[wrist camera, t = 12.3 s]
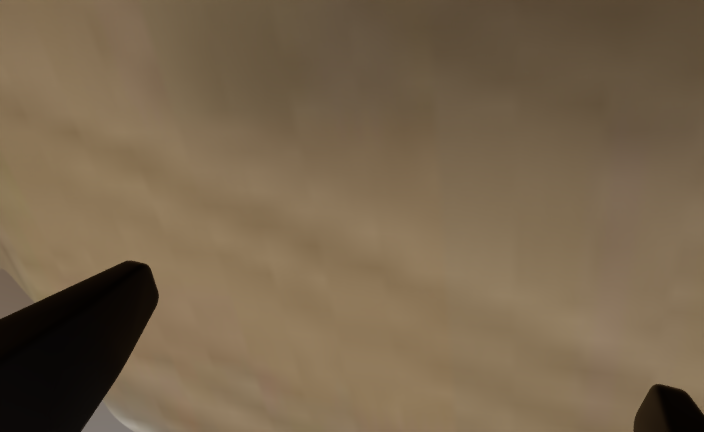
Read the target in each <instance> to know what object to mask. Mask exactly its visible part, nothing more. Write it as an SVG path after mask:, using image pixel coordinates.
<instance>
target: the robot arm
mask: <svg viewBox="0 0 704 432" xmlns="http://www.w3.org/2000/svg"><path fill="white" fill-rule="evenodd" d="M158 298H159V294H158V290H157V287H156V284H155V281H154V278H153V274H152V271H151V269H150V267H149V266H148V265H147V264H144V263H140V262H136V261H125V262H123V263H120V264H118V265H116V266H114V267H112V268H110V269H107V270H105V271H103V272H101V273H99V274H97V275H95V276H92V277H90V278H88V279H86V280H84V281H82V282H79V283H77V284H75V285H73V286H71V287H69V288H67V289H64V290H62V291H60V292H58V293H56V294H54V295H51V296H49V297H47V298H45V299H43V300H41V301H39V302H36V303H34V304H32V305H30V306H28V307H26V308H23V309H21V310H19V311H17V312H15V313H13V314H11V315H8V316H6V317H4V318H2V319H0V432H81V431H82V429H83V428H84V426H85V425H86V423H87V422H88V421H89V419H90V418H91V416H92V415H93V413H94V412H95V410H96V409H97V407H98V406H99V404H100V403H101V401H102V400H103V398H104V397H105V395H106V394H107V392H108V391H109V389H110V388H111V386H112V385H113V383H114V382H115V380H116V379H117V377H118V375H119V374H120V372H121V371H122V369H123V367H124V365H125V364H126V362H127V360H128V358H129V356H130V354H131V353H132V351H133V349H134V347H135V345H136V343H137V341H138V340H139V338H140V336H141V334H142V332H143V330H144V328H145V326H146V325H147V323H148V321H149V319H150V317H151V315H152V313H153V312H154V310H155V308H156V306H157V303H158ZM634 432H704V414H703V413H702V412H701V410H700V409H699V408H698V406H697V405H696V404H695V402H694V401H693V400H692V398H691V397H690V396H689V395H688V394H687V393H686V392H685V391H683V390H681V389H678V388H674V387H670V386H665V385H661V384H655V385H653V386H652V387H651V389H650V390H649V392H648V394H647V395H646V397H645V399H644V401H643V403H642V404H641V406H640V408H639V410H638V412H637V414H636V416H635V420H634Z"/></svg>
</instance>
